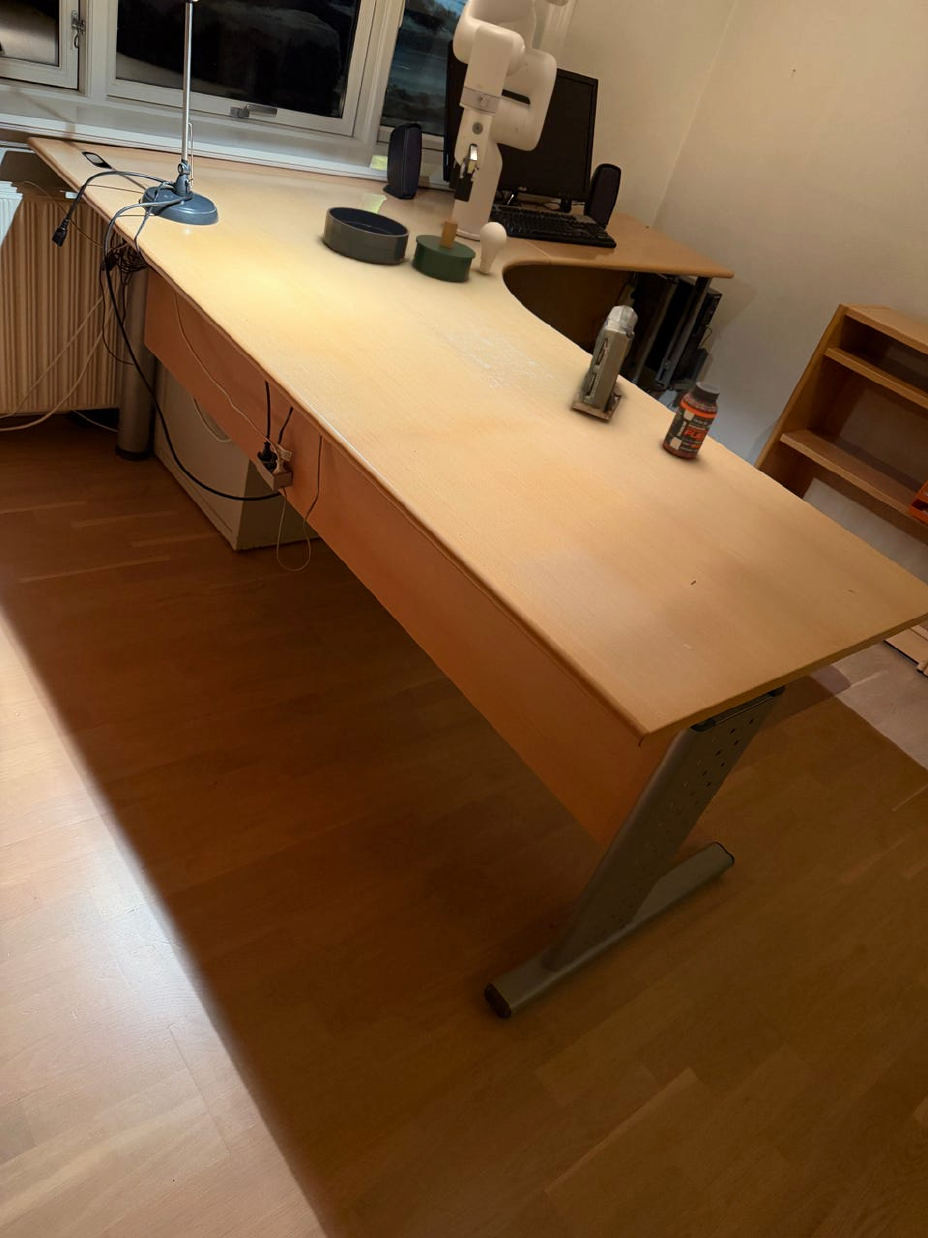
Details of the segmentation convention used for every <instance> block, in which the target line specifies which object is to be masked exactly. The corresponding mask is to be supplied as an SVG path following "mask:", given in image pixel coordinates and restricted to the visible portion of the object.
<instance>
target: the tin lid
mask: <svg viewBox="0 0 928 1238" xmlns="http://www.w3.org/2000/svg"><path fill="white" fill-rule="evenodd" d="M444 221H445V222H444ZM444 221H443V224H444V226H443V225H442V226H443V227H442V230H441V235H440V236H439V235H434V234H419V235H417V236H415V243H416V244H417V243H418V244H419V245H420V246H421V247H423V248H425V249H427V250H429V251H431V252H434V253H437V254H439V255H443V256H446V257H450V258H455V259H463V260H469V259H472V260H473V259H475V258H476V255H477V252H476V251H475V250H474V249H473V248H471V247H470V246H468V245H466V244H464V243H462V242H459V241H458V240H456V237H457V234H456V232H457V228H458V222H456V221H453V220H451V218H450V219H449V218H445V219H444Z"/></svg>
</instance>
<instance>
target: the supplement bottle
mask: <svg viewBox="0 0 928 1238" xmlns="http://www.w3.org/2000/svg"><path fill="white" fill-rule="evenodd" d="M692 389H693V390H692V391H691V392H688V393H686V394H685V395H683V396H682V399H681V401H680V403H679V405H678V407H677V409H676V412H675V414H674V417H673V419H672V421H671V423H670V425H669V428H668V430H667V432H666V434H665V436H664V438H663V442H662V443H663V446H664V447H665V449H666V450H667V451H668V452H670V453H671V454H673V455H674V456H677V457H680V458H685V459H692V458H696V456H697V455H698V453H699V452H700V449H701V448H702V446H703V445H704V444H703V443H704V441H705V439H706V437H707V435H708V434H709V432H710V428H711V427H712V424H713V422H714V421H715V418H716V416H717V414H718V411H719V405H718V403H717V401H718V399H719V396H720V394H721V390H720V389H719V388H717V387H716V386H715V385H712V384H710V383H708V382H704V381H697V382H696V383H695V385H694V387H693V388H692Z"/></svg>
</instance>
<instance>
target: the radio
mask: <svg viewBox="0 0 928 1238" xmlns="http://www.w3.org/2000/svg"><path fill="white" fill-rule="evenodd" d="M638 320H639V319H638V315H637V313H636V312H635V310H634V309H633V308H632V307H630V306H628V305H626V304H623V305H618V306H613V307H612V309H611V310H610V312H609V314H608V316H607V317H606V320H605V322H604V323H603V325H602V327H601V329H600V331H599V332H598V334H597V335H598V336H597V338H596V341H595V346H594V349H593V354H592V357H591V360H590V363H589V368H588V370H587V371H586V373H585V374H584V377H583V381H582V384H581V386H580V387H579V388H578V390H577V391H576V393H575V394H574V395H573V398H572V402H571V408H574V409H576V410H580V411H583V412H585V413H588V414H590V415H593V416H596V417H599V418H601V419H604V420H608V421H609V420H610V418H612V417H611V416H612V415H613V413H614V411H615V410H616V408H617V406H618V404H619V402H620V401H621V398H622V397H623V393H622V391H620V390H619V389H618V387H617V386H618V384H619V383H618V382H617V380H618V377H619V374H620V372H621V369H622V366H623V364H624V361H625V359H626V357H627V356H629V355H628V354H629V352H630V351H631V350H630V349H631V348H632V343H633V340H634V339H635V336H636V333H635V332H634V329H635V326H636V324H637V322H638Z"/></svg>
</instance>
